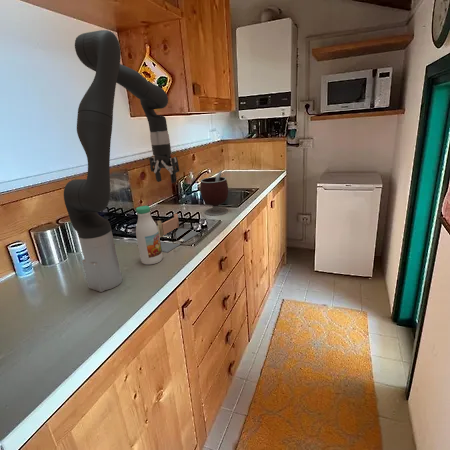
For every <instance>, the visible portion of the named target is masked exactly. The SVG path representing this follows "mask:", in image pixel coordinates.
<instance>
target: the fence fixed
mask: <svg viewBox="0 0 450 450" xmlns="http://www.w3.org/2000/svg"><path fill="white" fill-rule="evenodd" d="M156 222H157V223H156V224H157V228H158V232H159V237H163V230H162V223H163V222H162V220H157V221H156Z"/></svg>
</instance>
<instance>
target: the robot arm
mask: <svg viewBox="0 0 450 450" xmlns="http://www.w3.org/2000/svg"><path fill="white" fill-rule="evenodd" d="M119 41H120V40H119V39H118V37H117V36H116V34H115V33H114V32H113V31H110V30H108V29H107V30H105V29H103V30H102V29H101V30H95V31H89V32H84V33H81V34H79V35H78V36H77V37H76V38H75V40H74V51H75V52H76V56H77V58H78V59H79V61H80V62H81V63H82V64H83V65H84V66H85V67H87V68H88V69H90V70H92V71H93V72H95V76H94V78H93V80H92V82H91V84H90V86H89V88H88V89H87V90H86V92H85V94H84V95H83V96H82V99H81V101H80V103H79V105H78V108H77V116H76V117H77V118H76V133H77V137H78V140H79V143H80V144H81V147H82V148H83V150H84V153H85V156H86V160H87V174H86V175H87V176H86V178H85V179H84V178H80V179H79V178H78V179H71V180H70V181H68V182H67V183H66V184H65V186H64V188H63V189H64V190H63V201H64V205H65V208H66V212H67V214H68V217H69V220H70V223H71V225H72V228H73V229H74V230H75V231H76V233H77V236H78V240H79V244H80V248H81V251H82V255H83V259H82V260H81V264H82V267H83V271H84V274H85V279H86V282H87V286H88V288H89V289H90V290H94V291H97V292H99V293H103V292H104V291H107V290H111V289H114V288H116V287H118V286H119V285H120V284H121V283H122V282H123V276H122V271H121V267H120V261H119V258H118V255H117V249H116V245H115V241H114V236H113V232H112V227H111V223H110V221H109V220H108V219H107V218H104V217H103V216H101V215H100V214H99V213H102V212H104V211H105V210H106V209H107V207H108V205H109V202H110V199H111V198H110V197H111V179H110V178H111V173H110V168H111V167H110V161H111V157H110V156H111V142H112V132H113V121H114V105H115V104H114V103H115V96H116V95H115V94H116V87H117V84H118V85H119V86H121V87H123V88H124V89H125V90H127V91H128V92H129V93H130V94H132V95H133V96H134V97H136V98H137V99H139V101H140V105H141V108H142V110H143V112H144V114H145V117H146V119H147V123H148V128H149V134H150V144H151V151H152V156H151V157H149V159H148V161H149V166H150V171H151V172H153V173H154V175H155V180H156V182H158V183H160V182H162V175H161V170H162V169H166V170H167V171H168V172H169V174H170V175H169V176H170V183H171V184H174V183H177V173H179V172H180V167H179V165H180V164H179V160H178V157H176V156H175V157H172V156H171V154H172V148H171V142H170V141H171V140H170V135H169V132H168V131H169V130H168V125H167V118H166V116H165V115H161V114H157V113H156V111H155V110H158V109H159V110H161V109H165V108H166V106H168V103H169V98H168V95H167V92H166V91H165V90H164V89H163V87H160V86H159V85H157V84H155V83H152V82H150V81H148V80H147V79H146V78H145V77H144V76H143V75H142V74H141V73H140V72H138V71H136V70H135V69H133V68H131V67H129V66H126V65H124V64H121V57H122V56H121V53H122V52H121V45H120V42H119Z"/></svg>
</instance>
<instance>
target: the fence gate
mask: <svg viewBox="0 0 450 450" xmlns="http://www.w3.org/2000/svg"><path fill="white" fill-rule="evenodd" d="M178 214H179V213H173V217H172V218H170V219H167V220H166V221H164V222H161V223H162V230H163V235H165V234H167V233H169V232H171V231H173V230H174V229H176V228H180V221H179V215H178Z"/></svg>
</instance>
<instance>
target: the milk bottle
mask: <svg viewBox="0 0 450 450" xmlns="http://www.w3.org/2000/svg"><path fill="white" fill-rule="evenodd" d="M135 212H136V215H137V222H136V226H135V236H136V241H137V247H138V252H139V256H140V257H139V258H140V262H141V263H142V264H144V265H154V264H157V263H160V262H161V261H162V260H163V258H164V256H163V252H162V249H161V243H160V237H159V232H158V228H157V226H158V224H157V223H156V222H155V221H154V219H153V217H152V215H151V212H152V211H151V207H150V206H149V205H140V206H137V207H136V208H135Z"/></svg>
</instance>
